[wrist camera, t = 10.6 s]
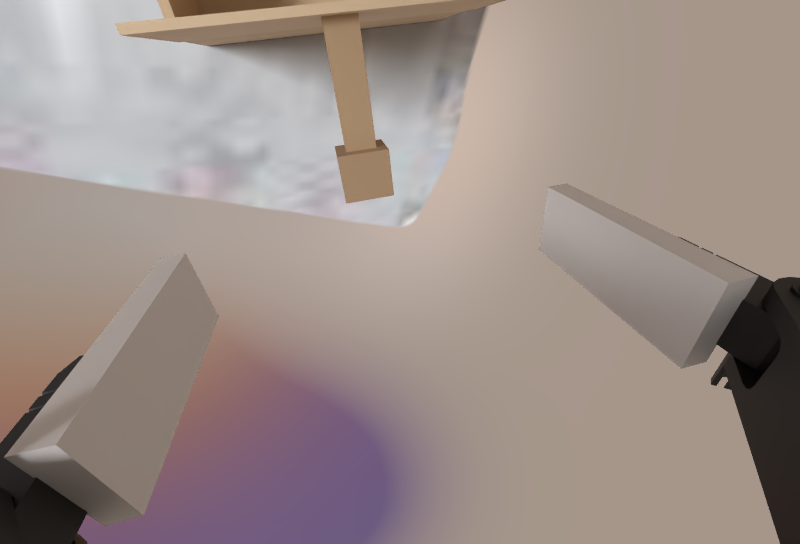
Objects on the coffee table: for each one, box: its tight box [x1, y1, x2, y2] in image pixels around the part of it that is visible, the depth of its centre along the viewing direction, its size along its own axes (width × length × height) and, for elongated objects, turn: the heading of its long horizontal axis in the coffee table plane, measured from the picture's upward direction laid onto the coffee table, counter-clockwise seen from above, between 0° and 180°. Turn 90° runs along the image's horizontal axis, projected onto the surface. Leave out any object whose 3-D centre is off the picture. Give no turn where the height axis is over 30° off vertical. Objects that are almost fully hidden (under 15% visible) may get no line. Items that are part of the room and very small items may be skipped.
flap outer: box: [115, 0, 505, 203], centre depth 21 cm, size 19×7×10 cm
